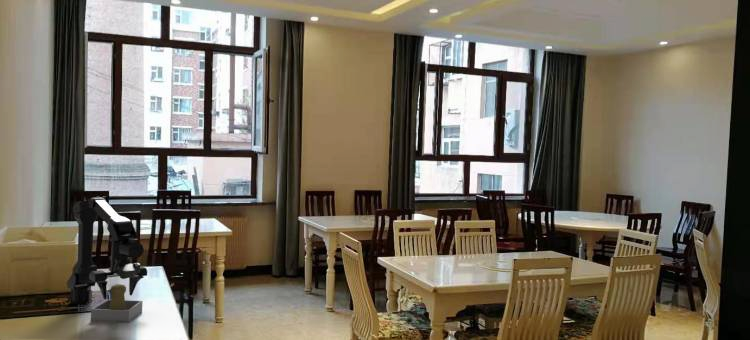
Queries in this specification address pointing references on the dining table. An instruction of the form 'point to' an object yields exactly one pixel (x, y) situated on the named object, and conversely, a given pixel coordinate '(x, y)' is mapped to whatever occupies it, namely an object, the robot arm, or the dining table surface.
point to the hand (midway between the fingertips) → (118, 297)
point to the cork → (117, 297)
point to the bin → (116, 312)
